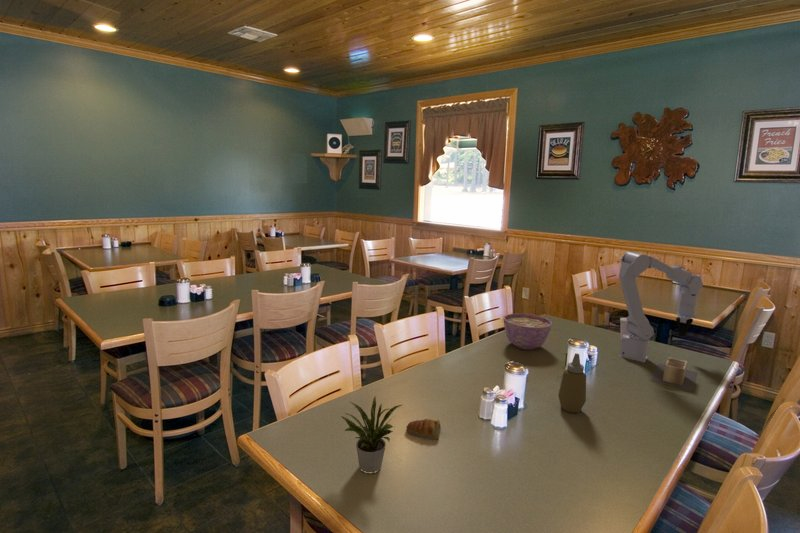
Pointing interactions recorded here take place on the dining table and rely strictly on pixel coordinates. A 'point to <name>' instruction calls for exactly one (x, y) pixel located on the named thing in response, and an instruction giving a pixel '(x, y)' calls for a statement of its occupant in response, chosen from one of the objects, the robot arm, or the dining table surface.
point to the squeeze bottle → (573, 387)
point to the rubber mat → (687, 383)
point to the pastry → (425, 428)
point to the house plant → (370, 437)
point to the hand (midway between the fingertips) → (681, 335)
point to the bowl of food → (526, 330)
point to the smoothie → (623, 327)
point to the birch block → (674, 371)
